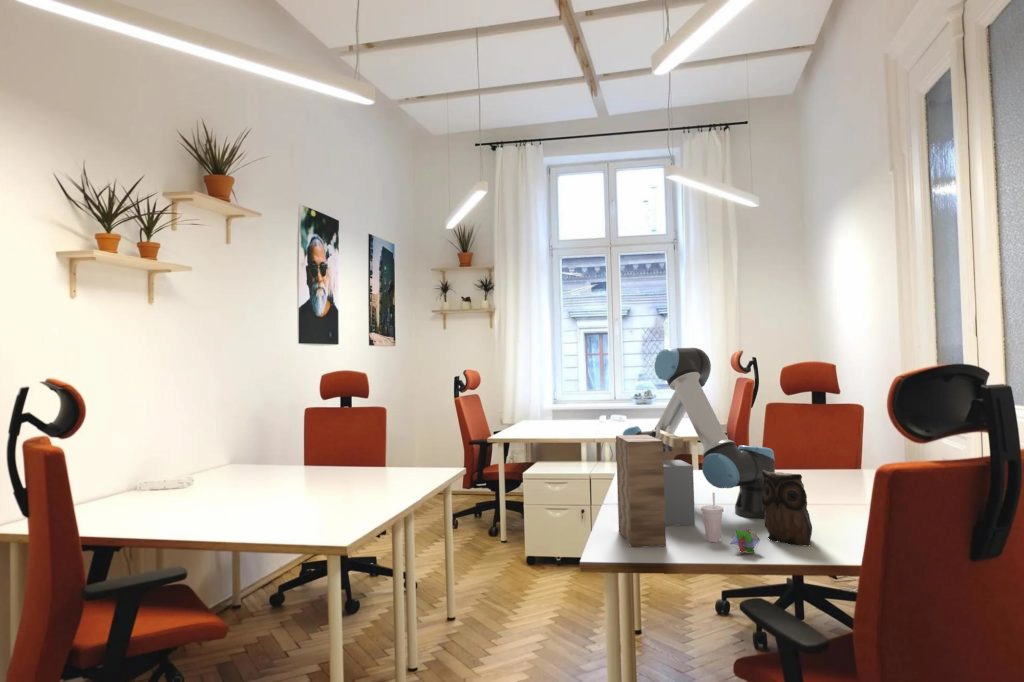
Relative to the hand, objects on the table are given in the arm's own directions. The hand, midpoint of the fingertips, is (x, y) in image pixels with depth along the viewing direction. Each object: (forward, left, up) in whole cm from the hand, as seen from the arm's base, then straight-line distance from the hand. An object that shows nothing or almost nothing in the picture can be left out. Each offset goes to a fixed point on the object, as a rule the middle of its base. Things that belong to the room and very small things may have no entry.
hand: (664, 429), depth 229 cm
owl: (-44, +10, -30) cm, 54 cm away
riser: (-5, +6, -29) cm, 30 cm away
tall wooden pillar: (-7, +32, -29) cm, 44 cm away
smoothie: (-25, +23, -30) cm, 45 cm away
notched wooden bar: (-2, +2, -4) cm, 5 cm away
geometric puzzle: (-37, +31, -30) cm, 57 cm away
